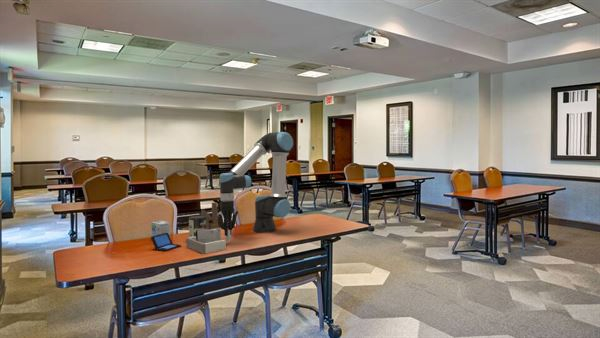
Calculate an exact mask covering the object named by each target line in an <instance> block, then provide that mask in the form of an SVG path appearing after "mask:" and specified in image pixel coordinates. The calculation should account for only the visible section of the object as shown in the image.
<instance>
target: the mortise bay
mask: <svg viewBox="0 0 600 338" xmlns="http://www.w3.org/2000/svg"><path fill="white" fill-rule="evenodd" d="M185 239H186V240H185V241H186V244H185V245H186V248H188V249H190V250H193V251H195V252H198V253H199V254H201V255H205V254H210V253H214V252H219V251H225V250H227V246H226V244H227V243H226V242H227V241H226V239H221V240H220V241H215V242H209V243H201V242H199V241H196V236H195V237H189V236H188V237H186V238H185Z"/></svg>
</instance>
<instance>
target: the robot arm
mask: <svg viewBox="0 0 600 338" xmlns="http://www.w3.org/2000/svg"><path fill="white" fill-rule="evenodd" d="M293 146H294V139H293V137H292V136H291V134H290V133H288V132H286V131H277V132H268V133H266V134H265V135H263V136H262V137H261V138H259V140H257V141H256V142H255V143H254V145H253V148H251V149H250V150H249V151H248V152H247V153H246V154H245V155H244V157H242V158H241V160H239V162H237V164H235V165H234V167H232V169H231V170H230V171H228V172H225V173H224V172H223V173H222V172H221V174H220V175H219V191H220V193H219V195H220V197H219V201H220V210H219V212H217V219H218V222H219V227H220V228H221V230H223V231H224V236H225V240H226V242H227V243H229V242H230V243H231V238H232V237H231V236H233V235H232V230H233V229H235V226H236V221H237V216H238V214H239V211H236V210H235V199H234V198H235V197H234V190H237V189H238V190H239V189H248V188H250V187H251V185H252V177H251V176H249V175H247V174H246V173H247V172H248V171H249V169H251V168H252V167H253V165H255V163H256V162H257V161H258V160H259V159H260V158H261V157H263V156H265V155H266V154H267V153H269V152H270V153H271V155H272V171H271V172H272V175H271V176H272V177H271V193H270V194H269V195H261V196H256V197H255V199H254V210H255V213H254V214H255V215H254V216H255V218H254V219H255V220H254V223H253V226H252V231H253V232H255V233H272V232H276V231H277V226H276V223H275V219H274V217H275V218H285V217H287V215H288V214H289V213H290V212H291V209H292V208H291V206H292V205H291V203H290V201H289V200H288V195H287V194H286V180H287V179H286V178H287V157H288V156H289V154H290V151H291V150H292V148H293ZM245 174H246V175H245Z"/></svg>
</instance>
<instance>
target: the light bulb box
mask: <svg viewBox="0 0 600 338" xmlns="http://www.w3.org/2000/svg"><path fill="white" fill-rule="evenodd" d="M170 226H171V225H170V222H169V221H165V220H157V221H151V237H152V236H156V235H160V234H164V233H168V234H169V236H170V237H171V229H170Z"/></svg>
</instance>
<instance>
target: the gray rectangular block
mask: <svg viewBox="0 0 600 338" xmlns="http://www.w3.org/2000/svg"><path fill="white" fill-rule="evenodd" d="M221 234H222V229H221V227H219V228H216V229H204V230H196V241H199V242H201V243H209V242H215V241H220V240H222V237H221Z"/></svg>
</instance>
